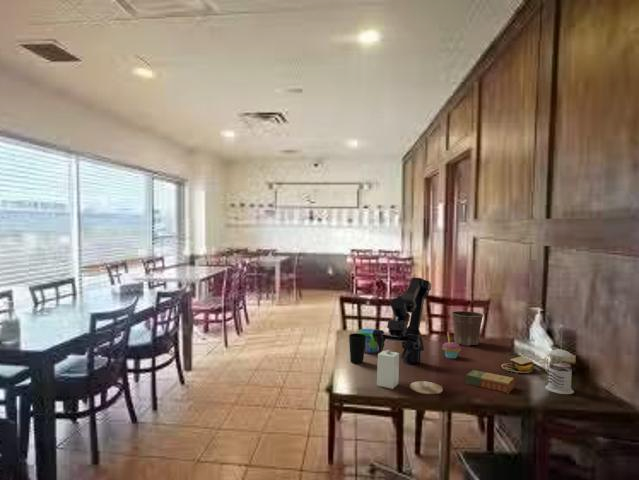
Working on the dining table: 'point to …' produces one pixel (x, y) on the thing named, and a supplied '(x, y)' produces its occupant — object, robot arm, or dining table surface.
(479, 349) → the dining table surface
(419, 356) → the robot arm
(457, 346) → the cupcake
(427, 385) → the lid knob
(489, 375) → the carton
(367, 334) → the snack cup
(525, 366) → the toy sandwich meal
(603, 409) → the dining table surface
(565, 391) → the french press
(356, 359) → the cup
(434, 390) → the cork mat
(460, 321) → the plant pot
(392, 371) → the cover
